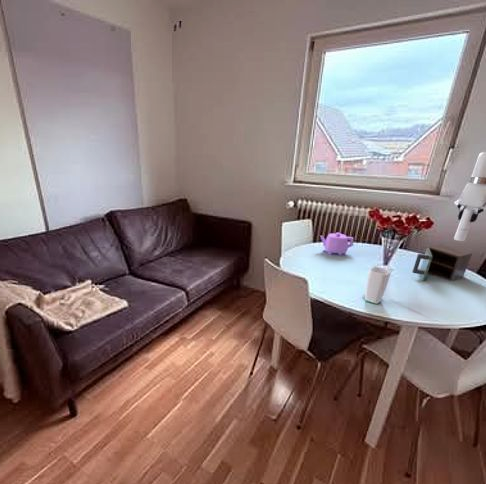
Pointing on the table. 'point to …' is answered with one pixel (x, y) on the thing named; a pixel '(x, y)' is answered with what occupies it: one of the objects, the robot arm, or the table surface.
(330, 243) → the teapot
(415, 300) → the table surface
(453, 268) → the cupboard
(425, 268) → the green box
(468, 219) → the tube
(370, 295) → the cup
